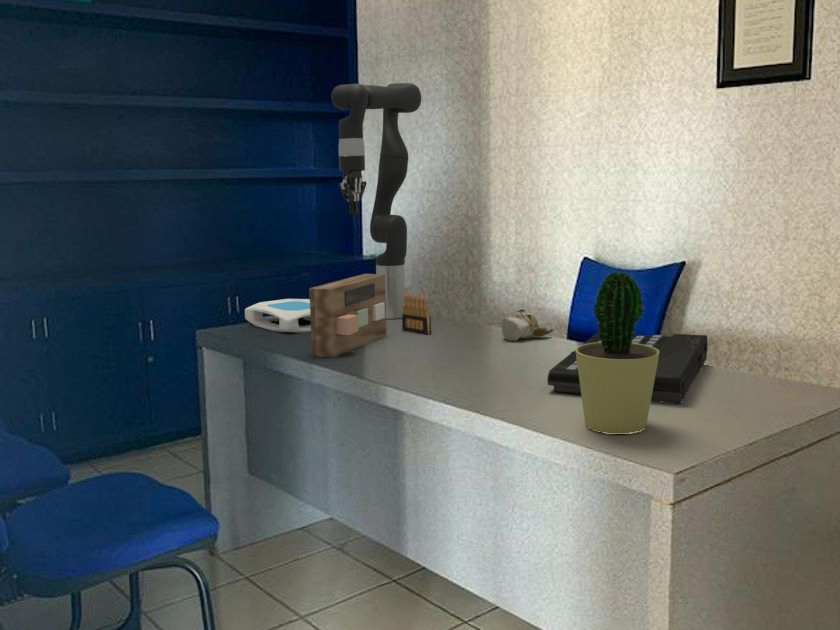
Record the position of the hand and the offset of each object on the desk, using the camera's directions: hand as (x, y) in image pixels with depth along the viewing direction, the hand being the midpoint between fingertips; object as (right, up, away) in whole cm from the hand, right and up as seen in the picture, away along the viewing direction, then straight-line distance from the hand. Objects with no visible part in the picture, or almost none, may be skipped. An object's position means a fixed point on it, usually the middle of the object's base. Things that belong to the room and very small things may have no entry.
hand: (353, 214), depth 254 cm
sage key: (+2, -33, -16) cm, 37 cm away
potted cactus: (+57, -51, -91) cm, 119 cm away
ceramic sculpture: (+49, -37, -10) cm, 62 cm away
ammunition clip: (+19, -35, +2) cm, 40 cm away
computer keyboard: (+69, -44, -53) cm, 98 cm away
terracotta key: (0, -34, -26) cm, 43 cm away
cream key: (+6, -31, -7) cm, 32 cm away
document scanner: (-20, -33, +19) cm, 43 cm away
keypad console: (+1, -38, -15) cm, 41 cm away
